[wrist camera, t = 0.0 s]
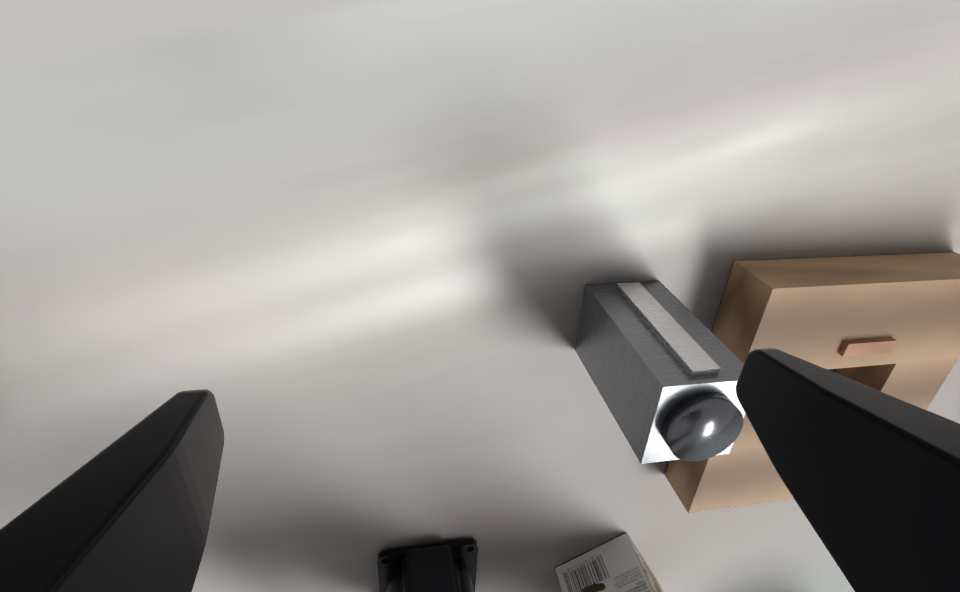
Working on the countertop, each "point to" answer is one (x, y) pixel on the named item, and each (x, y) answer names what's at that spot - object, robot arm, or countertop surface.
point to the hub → (829, 346)
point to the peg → (660, 372)
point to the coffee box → (608, 570)
